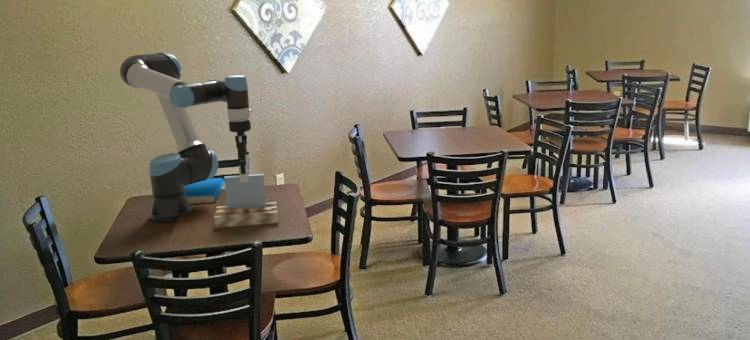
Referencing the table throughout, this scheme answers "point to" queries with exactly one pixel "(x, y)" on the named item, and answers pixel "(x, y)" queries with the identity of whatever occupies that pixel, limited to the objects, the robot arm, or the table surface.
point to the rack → (246, 217)
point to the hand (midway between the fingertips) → (244, 177)
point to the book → (204, 191)
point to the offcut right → (260, 210)
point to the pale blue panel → (245, 192)
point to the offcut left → (230, 211)
